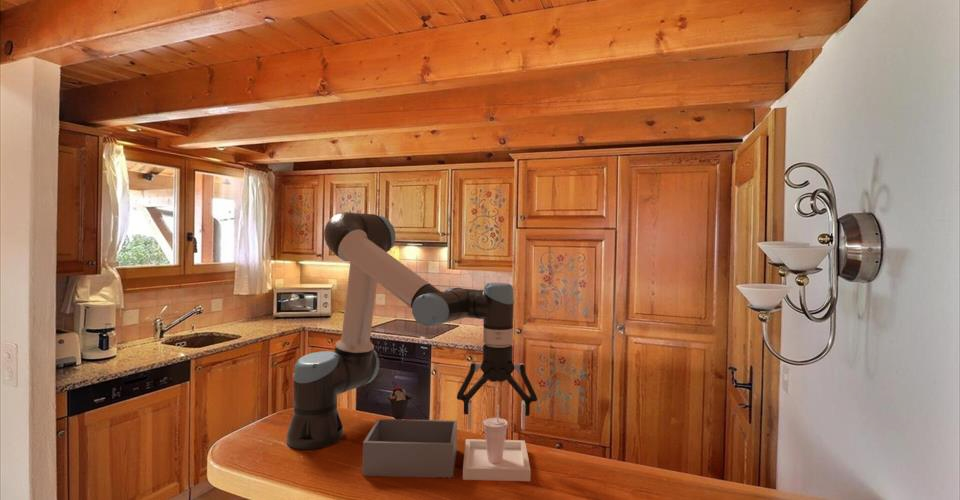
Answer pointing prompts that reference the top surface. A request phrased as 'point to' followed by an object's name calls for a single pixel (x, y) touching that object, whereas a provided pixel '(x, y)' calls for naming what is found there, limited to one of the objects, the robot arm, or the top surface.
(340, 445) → the top surface
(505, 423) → the smoothie
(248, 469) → the top surface
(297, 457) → the top surface
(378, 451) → the deep bin
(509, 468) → the tray
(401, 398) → the sundae
